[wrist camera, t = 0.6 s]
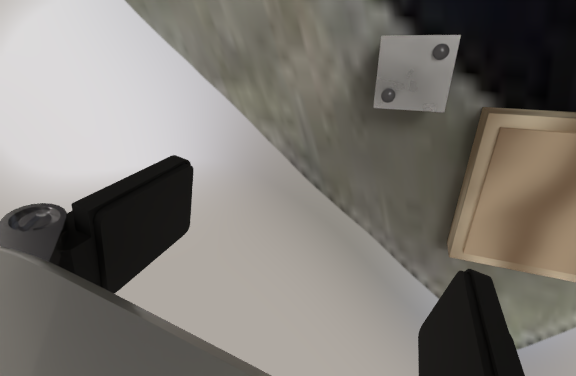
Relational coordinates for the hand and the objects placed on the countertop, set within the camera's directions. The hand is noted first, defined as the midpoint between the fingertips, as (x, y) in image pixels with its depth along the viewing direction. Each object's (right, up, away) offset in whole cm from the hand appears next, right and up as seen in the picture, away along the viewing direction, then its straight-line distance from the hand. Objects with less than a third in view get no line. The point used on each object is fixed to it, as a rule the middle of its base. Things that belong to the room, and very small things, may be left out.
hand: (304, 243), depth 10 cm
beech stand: (+22, +2, +17) cm, 28 cm away
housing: (+10, +12, +17) cm, 23 cm away
